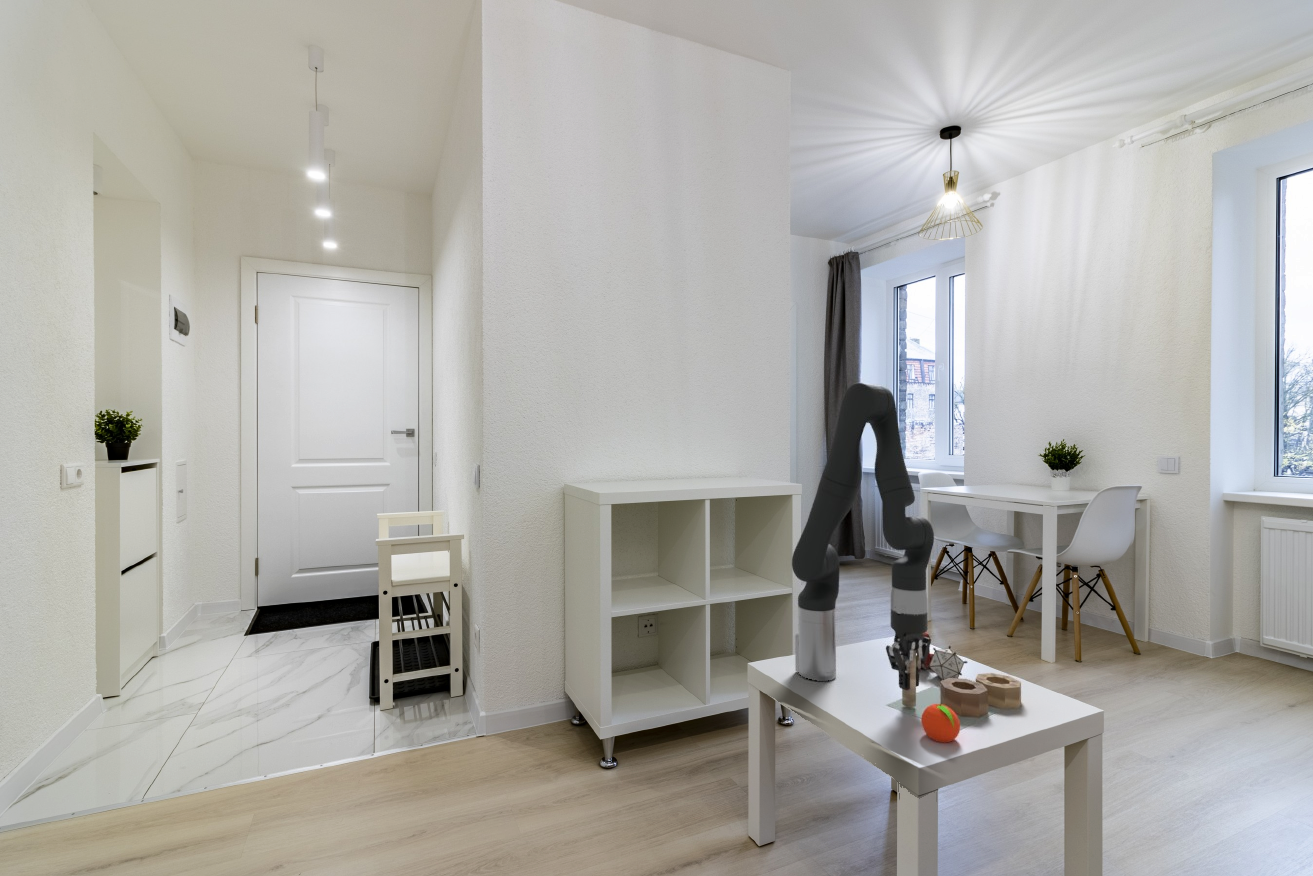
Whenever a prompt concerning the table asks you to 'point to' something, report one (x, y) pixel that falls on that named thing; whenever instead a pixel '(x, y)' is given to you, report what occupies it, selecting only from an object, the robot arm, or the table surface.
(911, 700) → the birch peg
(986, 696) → the walnut bead
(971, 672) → the table surface
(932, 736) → the clementine
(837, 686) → the table surface
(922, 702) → the grey mat
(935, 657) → the game die
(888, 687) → the table surface
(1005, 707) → the oak bead
